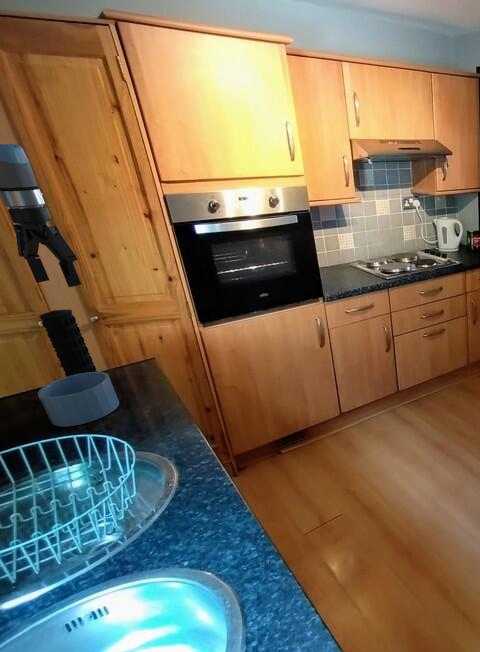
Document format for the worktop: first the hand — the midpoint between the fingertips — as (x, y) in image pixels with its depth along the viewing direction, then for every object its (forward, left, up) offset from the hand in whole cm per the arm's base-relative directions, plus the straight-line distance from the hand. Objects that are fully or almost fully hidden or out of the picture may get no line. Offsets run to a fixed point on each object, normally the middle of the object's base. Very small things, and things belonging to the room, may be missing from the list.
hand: (58, 283), depth 128 cm
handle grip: (-1, -3, -34) cm, 34 cm away
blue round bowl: (+10, -13, -33) cm, 37 cm away
